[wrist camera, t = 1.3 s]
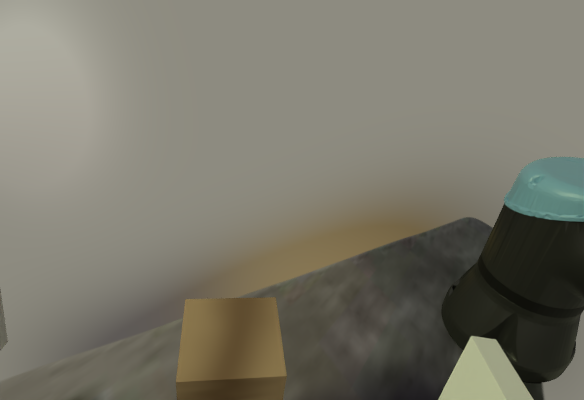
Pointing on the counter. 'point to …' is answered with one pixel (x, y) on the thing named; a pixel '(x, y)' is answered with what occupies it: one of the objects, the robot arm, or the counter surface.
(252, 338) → the walnut peg
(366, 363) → the counter surface
